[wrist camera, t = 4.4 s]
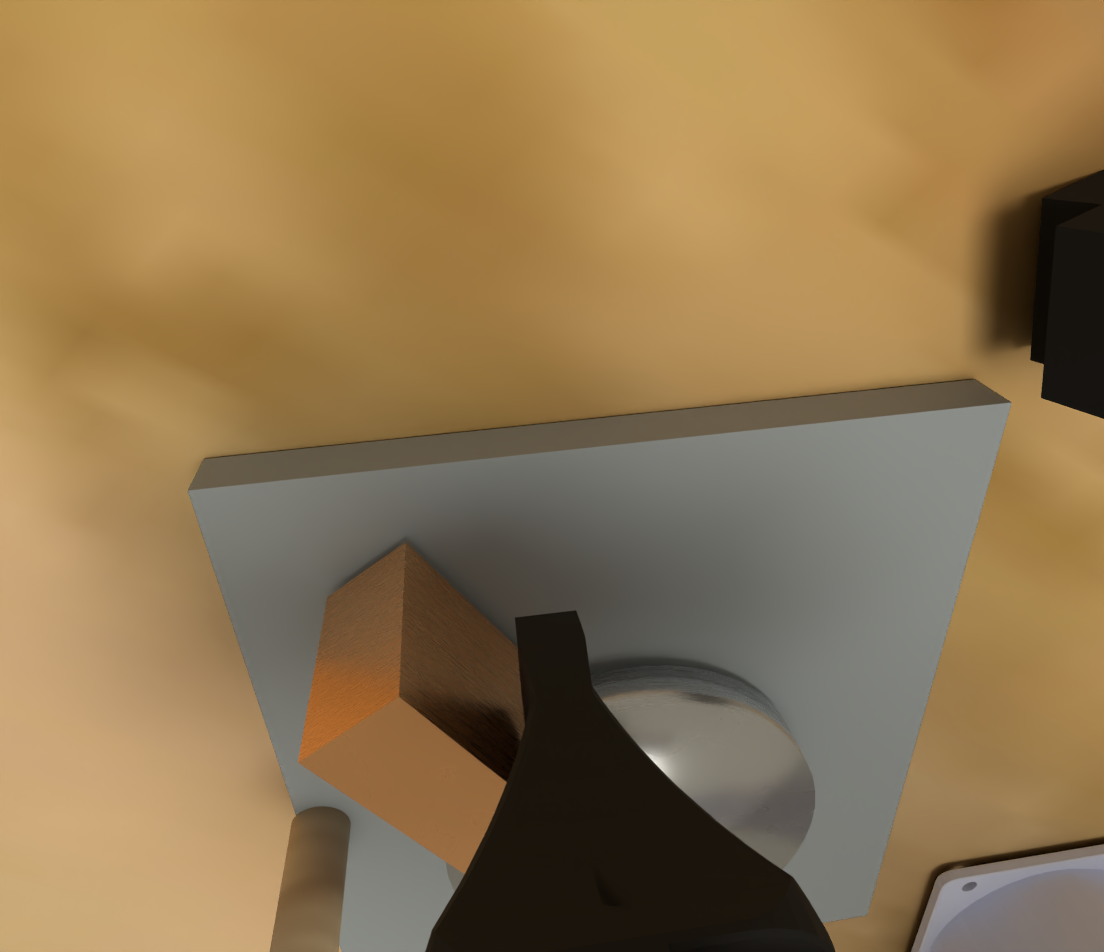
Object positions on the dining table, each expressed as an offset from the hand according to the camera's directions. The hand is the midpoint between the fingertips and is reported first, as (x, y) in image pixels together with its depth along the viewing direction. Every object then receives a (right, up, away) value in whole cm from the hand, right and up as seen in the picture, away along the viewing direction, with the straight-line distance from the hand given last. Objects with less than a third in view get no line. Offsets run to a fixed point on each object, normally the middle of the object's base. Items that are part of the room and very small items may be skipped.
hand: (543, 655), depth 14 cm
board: (+2, -3, +6) cm, 7 cm away
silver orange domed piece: (+1, -3, +4) cm, 5 cm away
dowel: (-6, -5, +5) cm, 9 cm away
